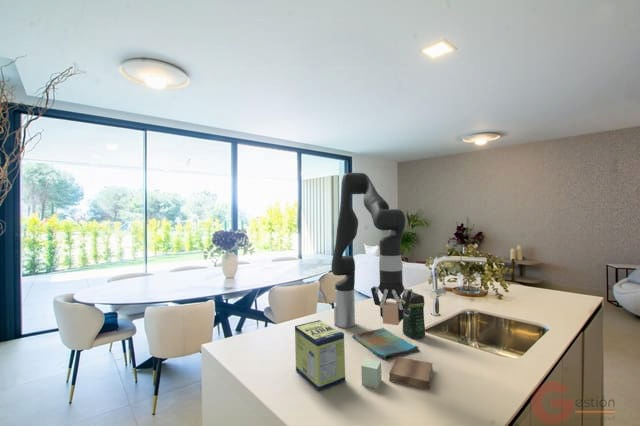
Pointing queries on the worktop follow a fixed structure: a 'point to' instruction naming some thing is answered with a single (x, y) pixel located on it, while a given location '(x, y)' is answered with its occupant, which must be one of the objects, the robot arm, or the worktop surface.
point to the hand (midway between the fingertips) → (392, 318)
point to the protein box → (320, 354)
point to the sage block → (371, 373)
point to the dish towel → (385, 344)
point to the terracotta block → (390, 313)
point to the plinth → (411, 372)
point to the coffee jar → (414, 316)
